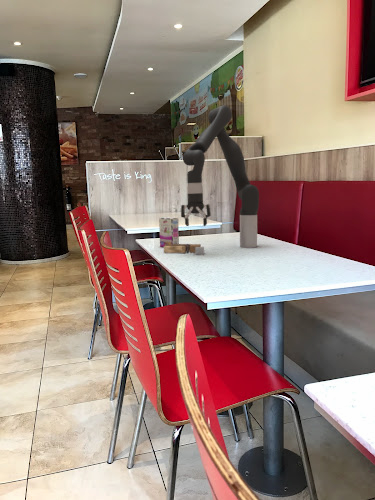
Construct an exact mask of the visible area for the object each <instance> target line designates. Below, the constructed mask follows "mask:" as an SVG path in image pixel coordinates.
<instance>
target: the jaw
mask: <svg viewBox="0 0 375 500" xmlns="http://www.w3.org/2000/svg"><path fill="white" fill-rule="evenodd" d="M163 253H165V254H167V253H170V254H171V253H175V254H176V253H182V254H187V253H186V246H164V248H163Z"/></svg>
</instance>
